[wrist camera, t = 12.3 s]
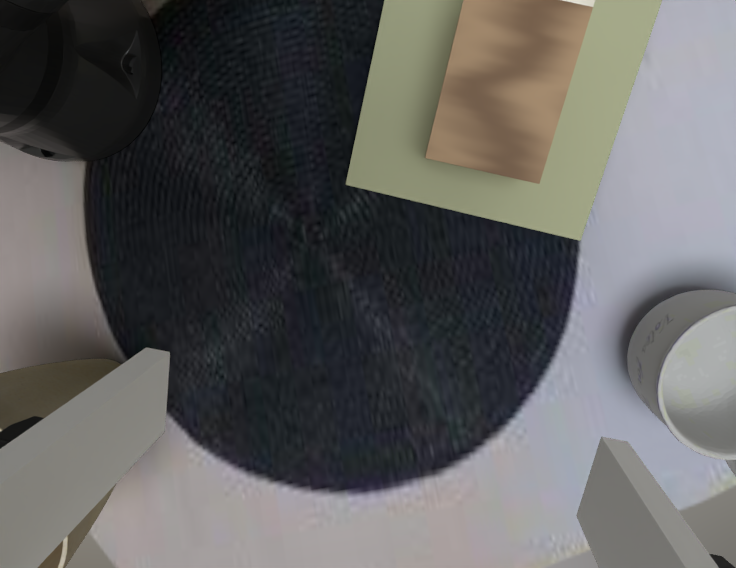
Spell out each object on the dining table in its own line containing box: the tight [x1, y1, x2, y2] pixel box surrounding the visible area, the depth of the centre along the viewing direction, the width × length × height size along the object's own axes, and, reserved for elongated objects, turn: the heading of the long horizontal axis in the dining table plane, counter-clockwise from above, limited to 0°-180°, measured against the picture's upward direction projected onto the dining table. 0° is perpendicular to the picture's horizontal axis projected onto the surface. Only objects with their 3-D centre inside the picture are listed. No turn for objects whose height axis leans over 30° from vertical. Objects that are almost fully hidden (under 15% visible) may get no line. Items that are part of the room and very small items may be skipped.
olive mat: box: [346, 0, 662, 241], centre depth 36 cm, size 18×18×1 cm
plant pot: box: [0, 359, 122, 568], centre depth 39 cm, size 15×15×16 cm
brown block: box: [425, 0, 595, 184], centre depth 33 cm, size 7×7×11 cm
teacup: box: [627, 290, 736, 476], centre depth 36 cm, size 14×11×8 cm
